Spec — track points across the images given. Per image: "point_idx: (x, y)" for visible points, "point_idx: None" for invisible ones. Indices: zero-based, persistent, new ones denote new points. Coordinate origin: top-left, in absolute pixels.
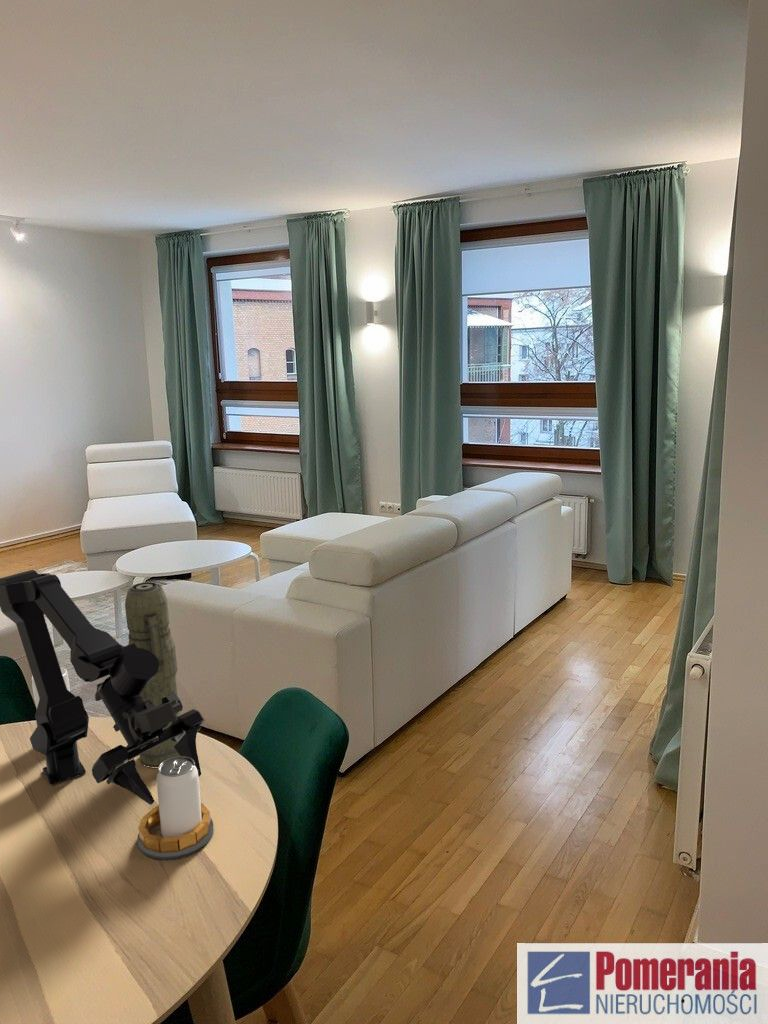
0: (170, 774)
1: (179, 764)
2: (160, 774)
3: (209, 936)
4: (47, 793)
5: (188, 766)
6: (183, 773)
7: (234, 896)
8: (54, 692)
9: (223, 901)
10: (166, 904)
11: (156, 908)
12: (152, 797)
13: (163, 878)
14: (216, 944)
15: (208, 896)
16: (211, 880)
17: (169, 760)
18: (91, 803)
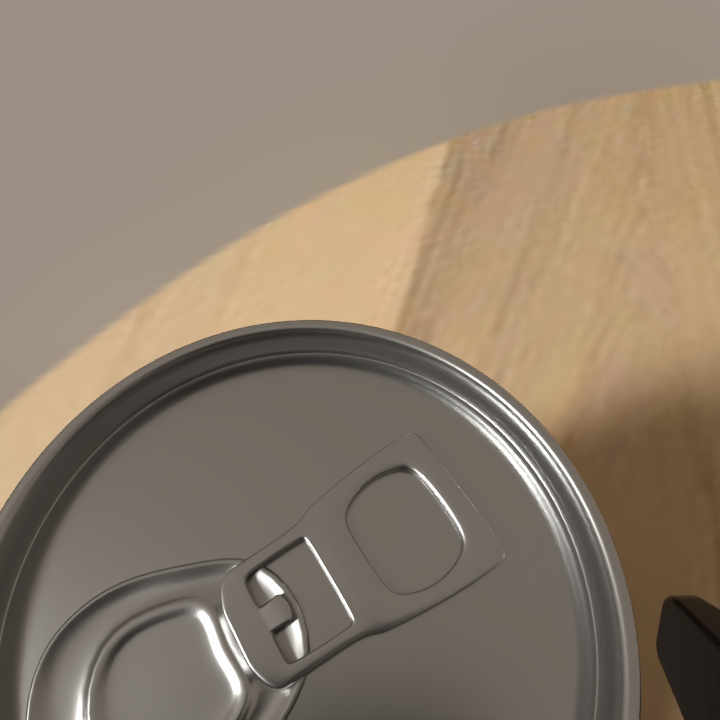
0: (492, 513)
1: (198, 653)
2: (612, 683)
3: (599, 143)
4: None
5: (170, 466)
6: (370, 334)
7: (447, 195)
8: None
9: (486, 204)
10: (644, 330)
11: (684, 341)
12: (697, 618)
13: (585, 459)
14: (599, 114)
15: (508, 252)
16: (451, 301)
17: None
18: None
